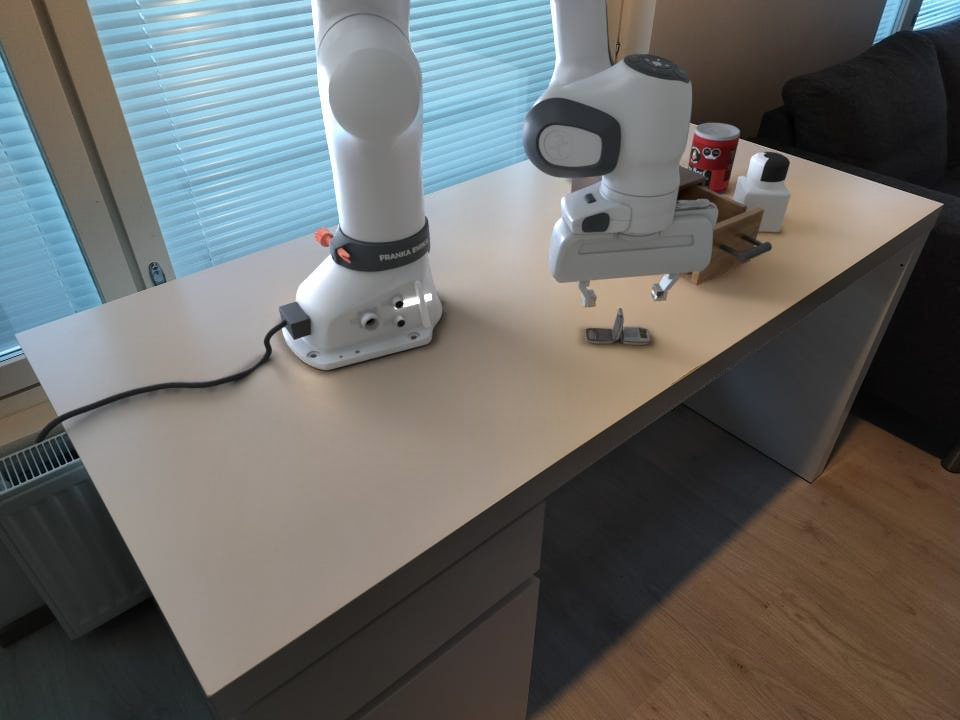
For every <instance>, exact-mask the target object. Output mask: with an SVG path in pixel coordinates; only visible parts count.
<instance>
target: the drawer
mask: <svg viewBox="0 0 960 720" xmlns="http://www.w3.org/2000/svg"><path fill="white" fill-rule="evenodd" d="M697 199H708V200H709V202H712V203H714V204H715V205H716V206H717V208H718V217H717V222H716V225H715V227H714V228H713V244H712V254H711V260H710V264H709V265H708V266H707V267H706V268H705V269H704V270H703V271H699V272H686V273H683V274H684V275H686V276H689V275H691V274H692V275H691V279H690V284H691V283H692V284H694V285H695V286H699V285H700V284H703V283H705V282H707V281H710V280H712V279H714V278H717V277H719V276H721V275H724V274H726V273H727V272H729V271H732V270H734V269H737V268H739V267H741V266H743V265H745V264H748V263H749V262H751V260H753V259H755V258H757V257H759V256H761V255H764V254H765V253H769V252H771V250H773V244H772V243H771V242H770V241H765V242H762V241H760V240H758V239H757V238H758V235H759V232H758V231H759V227H760V224H761V220H762V216H763V213H764V209H762V208H759V207H756V208H754V209H751V210H749V211H746V209H747V206H746V205H744V204H741V203H739V202H737V201H735V200H733V198H730V197H729V196H726V195H723V194H721V193H716V192H714V191H712V190H709V189H707V188H705V187H702V186H700V185H698V184H696V185H693V186H690V187H688V188H685V189H682V190H679V191H678V196H677V201H679V200H697ZM709 206H710V205H709Z"/></svg>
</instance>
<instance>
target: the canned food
mask: <svg viewBox="0 0 960 720" xmlns="http://www.w3.org/2000/svg"><path fill="white" fill-rule="evenodd" d="M740 137H741V130H740V129H739V128H738V127H736V126H734V125H731V124H728V123H722V122H705V123H700V124H698V125H696V126H695V129H694V133H693V137H692V142H691V149H690V154H689V159H688V165H687V169H689V170H692V171H694V172H696V173H699V174H701V175H703V176H706V180H705V186H704V187H705V188H707V189H709V190H712V191H714V192H716V193H719V194H721V193H723V192H725V191H726V189H727V188H728V186H729V184H730V180H731V175H732V170H733V166H734V163H735V159H736V154H737V150H738V145H739V141H740Z"/></svg>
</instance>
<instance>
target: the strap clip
mask: <svg viewBox="0 0 960 720" xmlns="http://www.w3.org/2000/svg"><path fill="white" fill-rule="evenodd" d="M624 323H625V317H624V312H623V308H622V307H619V308H618V309H617V313H616V317H615V320H614V324H613V326H612V328H601V327H600V328H599V327H589V328H585V339H586V341H587V342H588V343H592V344H595V345H596V344H597V345H598V344H599V345H600V344H603V345H604V344H605V345H606V344H614V342H616V341H619V339H620V343H623V345H634V346H644V345H648V344H651V343H650V342H651V336H650V331H649V329H648V328H647V327H642V326H624ZM589 333H594V338H590V337H589ZM642 334H644V335H645V337H642V336H641V335H642Z"/></svg>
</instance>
